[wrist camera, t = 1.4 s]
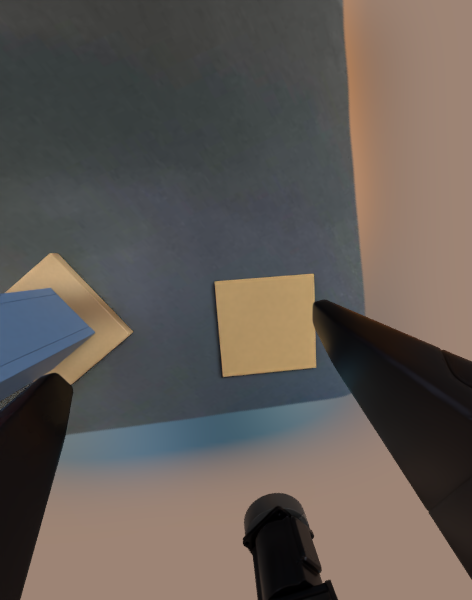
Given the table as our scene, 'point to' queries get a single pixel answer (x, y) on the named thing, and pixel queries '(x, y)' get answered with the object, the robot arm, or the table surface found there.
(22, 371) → the sleeve
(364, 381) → the robot arm
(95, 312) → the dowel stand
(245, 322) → the mat
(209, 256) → the table surface
